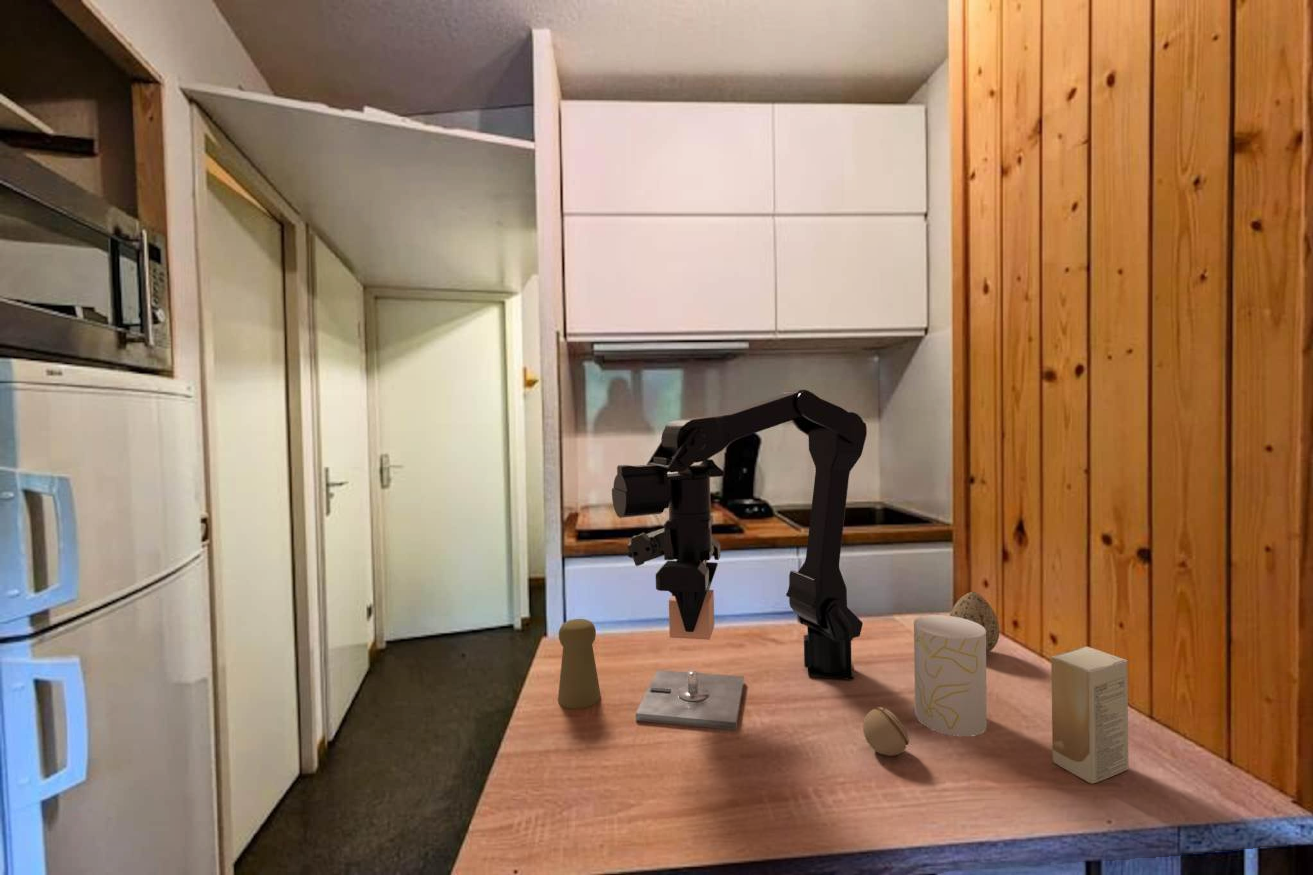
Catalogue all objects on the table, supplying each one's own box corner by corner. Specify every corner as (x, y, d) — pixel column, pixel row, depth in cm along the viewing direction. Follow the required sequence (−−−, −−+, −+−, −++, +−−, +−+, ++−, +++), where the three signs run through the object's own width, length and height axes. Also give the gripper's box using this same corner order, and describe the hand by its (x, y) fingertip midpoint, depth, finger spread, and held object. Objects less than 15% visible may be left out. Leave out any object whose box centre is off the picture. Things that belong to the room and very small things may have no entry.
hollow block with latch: (714, 625, 81) (713, 587, 81) (709, 639, 76) (708, 600, 76) (676, 623, 82) (675, 586, 82) (669, 637, 77) (668, 598, 77)
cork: (593, 710, 78) (590, 630, 78) (551, 707, 79) (548, 628, 79) (606, 689, 84) (603, 615, 84) (566, 686, 85) (564, 613, 85)
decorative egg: (1003, 651, 93) (1003, 590, 93) (994, 666, 88) (994, 602, 87) (955, 641, 98) (954, 583, 97) (943, 655, 92) (943, 593, 92)
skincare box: (1088, 749, 66) (1088, 644, 66) (1130, 771, 62) (1130, 659, 62) (1049, 762, 64) (1048, 654, 63) (1090, 785, 60) (1090, 670, 59)
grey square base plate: (744, 682, 85) (743, 656, 85) (735, 730, 72) (735, 698, 72) (658, 676, 88) (657, 650, 88) (635, 720, 75) (634, 690, 75)
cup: (905, 721, 73) (904, 628, 73) (927, 697, 79) (926, 610, 79) (976, 744, 68) (975, 643, 67) (994, 716, 74) (993, 624, 73)
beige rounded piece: (906, 770, 63) (905, 725, 63) (859, 757, 66) (858, 714, 66) (912, 747, 68) (911, 705, 67) (868, 736, 70) (867, 695, 70)
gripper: (647, 500, 89) (650, 599, 90) (613, 523, 71) (617, 647, 72) (719, 500, 87) (722, 602, 88) (703, 524, 69) (706, 652, 69)
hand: (692, 623), depth 79 cm, fingers closed on hollow block with latch, 5 cm apart
